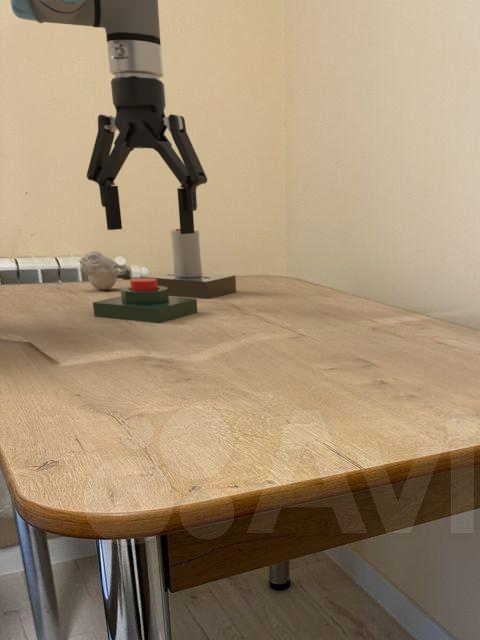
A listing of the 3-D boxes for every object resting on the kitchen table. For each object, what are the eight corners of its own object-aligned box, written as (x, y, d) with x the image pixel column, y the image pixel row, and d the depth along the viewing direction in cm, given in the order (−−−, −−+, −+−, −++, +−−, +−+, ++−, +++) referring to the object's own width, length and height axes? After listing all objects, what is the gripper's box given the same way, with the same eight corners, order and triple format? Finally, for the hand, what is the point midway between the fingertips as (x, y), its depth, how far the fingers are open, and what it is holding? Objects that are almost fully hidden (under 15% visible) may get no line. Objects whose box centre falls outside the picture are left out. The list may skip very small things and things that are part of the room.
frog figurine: (78, 289, 133) (73, 250, 130) (115, 286, 137) (111, 249, 134) (88, 293, 129) (83, 253, 126) (126, 290, 133) (122, 252, 130)
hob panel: (142, 293, 130) (140, 275, 129) (174, 286, 138) (172, 269, 137) (207, 299, 125) (205, 280, 124) (236, 291, 134) (235, 274, 133)
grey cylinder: (185, 273, 134) (181, 226, 130) (207, 275, 132) (204, 228, 129) (169, 276, 129) (164, 228, 126) (191, 278, 128) (188, 229, 124)
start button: (125, 292, 108) (124, 280, 108) (142, 288, 112) (141, 277, 111) (147, 294, 107) (146, 282, 106) (163, 290, 110) (162, 279, 110)
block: (94, 316, 108) (90, 290, 107) (136, 306, 117) (133, 282, 115) (159, 323, 104) (156, 295, 103) (197, 312, 113) (195, 287, 111)
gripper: (50, 76, 104) (70, 229, 112) (197, 73, 96) (206, 236, 105) (85, 83, 111) (101, 226, 119) (225, 80, 103) (231, 233, 111)
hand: (150, 231), depth 112 cm, fingers open, 13 cm apart
